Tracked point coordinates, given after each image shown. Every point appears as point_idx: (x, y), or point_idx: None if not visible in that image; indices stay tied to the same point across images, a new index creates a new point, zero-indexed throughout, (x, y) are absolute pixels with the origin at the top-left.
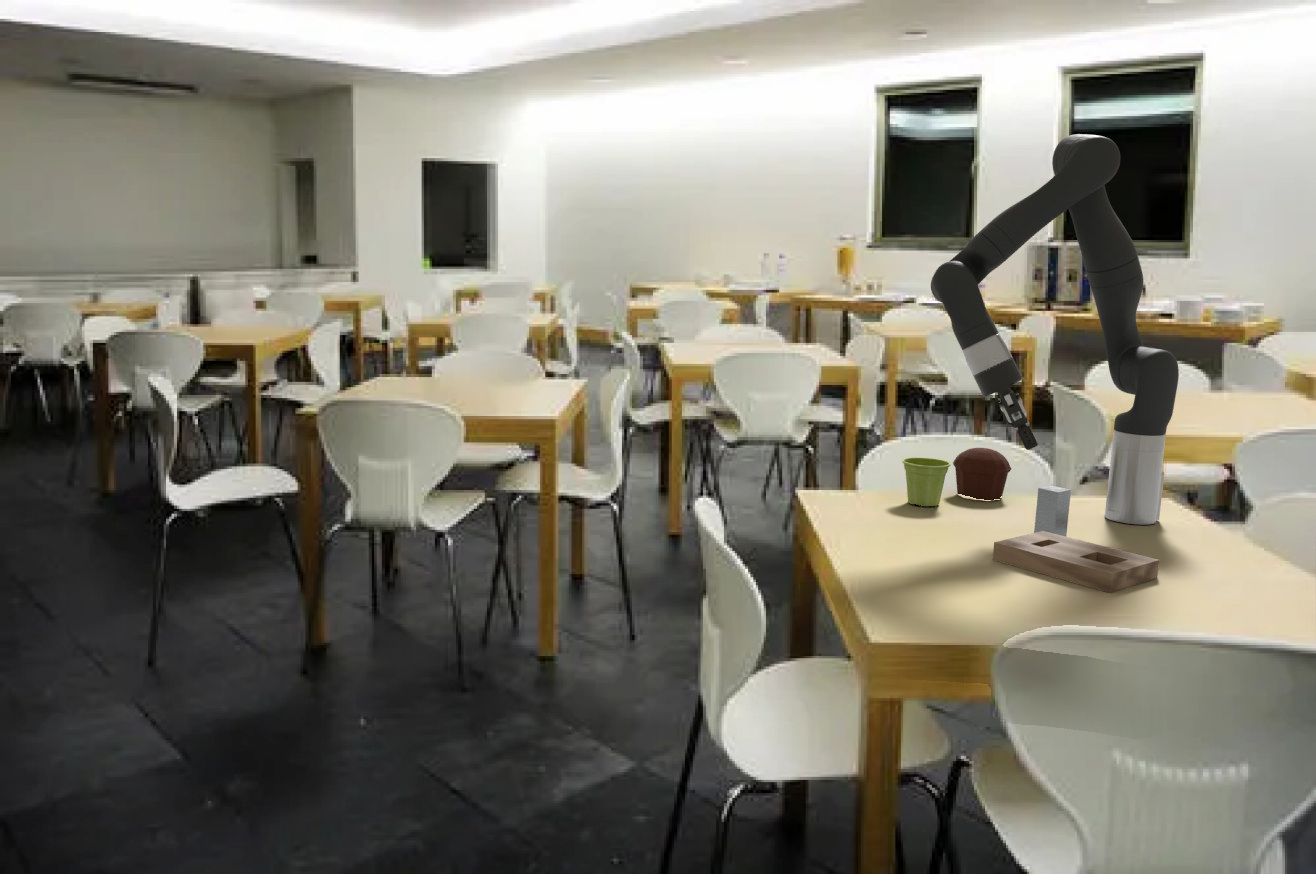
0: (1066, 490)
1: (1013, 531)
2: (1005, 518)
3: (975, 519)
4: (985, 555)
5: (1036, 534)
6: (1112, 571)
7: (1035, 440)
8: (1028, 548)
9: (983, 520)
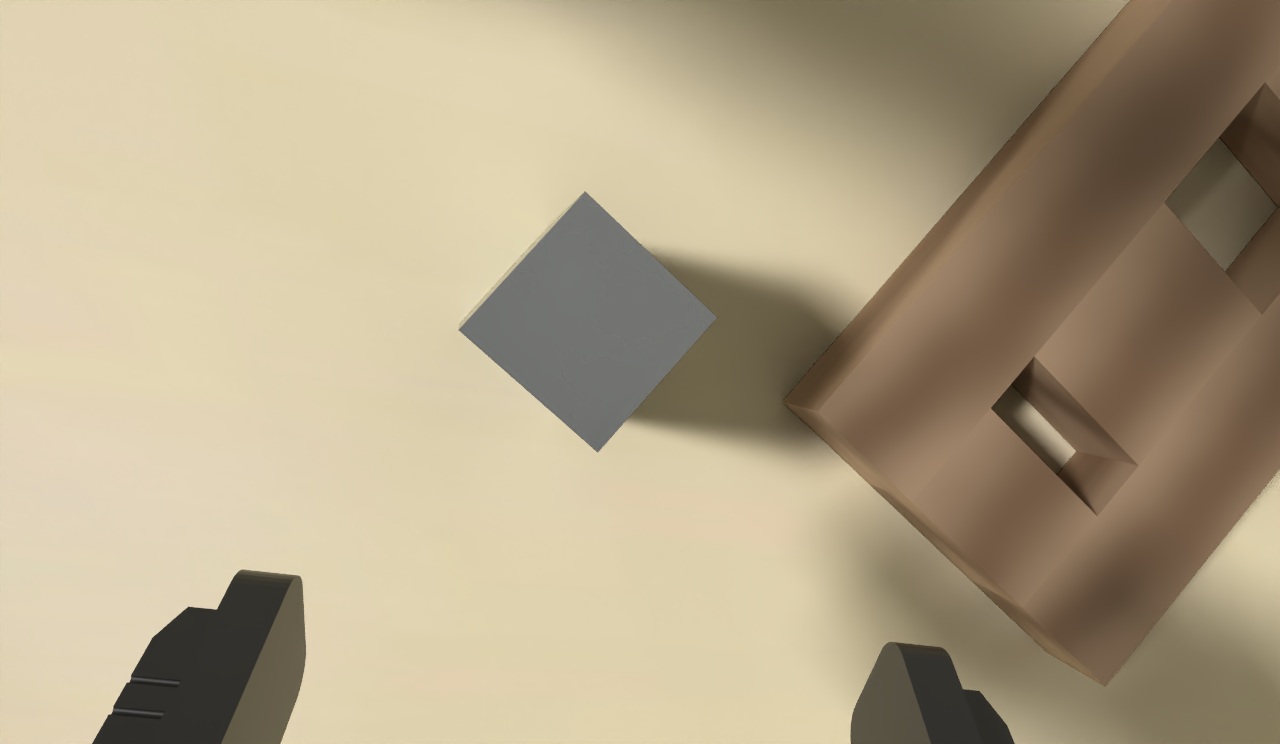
0: (626, 236)
1: (460, 506)
2: (110, 523)
3: None
4: (981, 679)
5: (906, 458)
6: None
7: (960, 698)
8: (1176, 532)
9: None
